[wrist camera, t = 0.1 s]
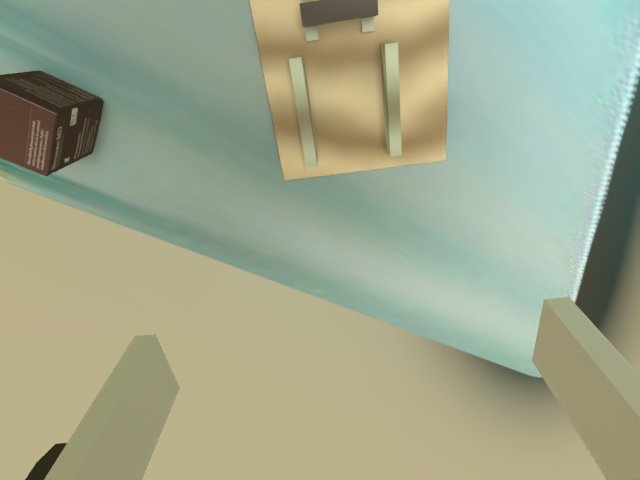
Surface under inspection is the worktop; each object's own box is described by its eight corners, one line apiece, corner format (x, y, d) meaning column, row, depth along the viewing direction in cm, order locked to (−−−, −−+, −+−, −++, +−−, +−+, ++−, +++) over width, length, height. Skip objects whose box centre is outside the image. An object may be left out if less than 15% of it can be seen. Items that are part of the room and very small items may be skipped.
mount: (233, -98, 29) (214, -124, 24) (446, -139, 27) (472, -175, 23) (285, 175, 39) (280, 195, 34) (441, 155, 38) (458, 173, 33)
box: (93, 154, 39) (46, 179, 32) (32, 127, 37) (-29, 147, 31) (105, 99, 36) (57, 113, 30) (39, 67, 35) (-26, 75, 28)
